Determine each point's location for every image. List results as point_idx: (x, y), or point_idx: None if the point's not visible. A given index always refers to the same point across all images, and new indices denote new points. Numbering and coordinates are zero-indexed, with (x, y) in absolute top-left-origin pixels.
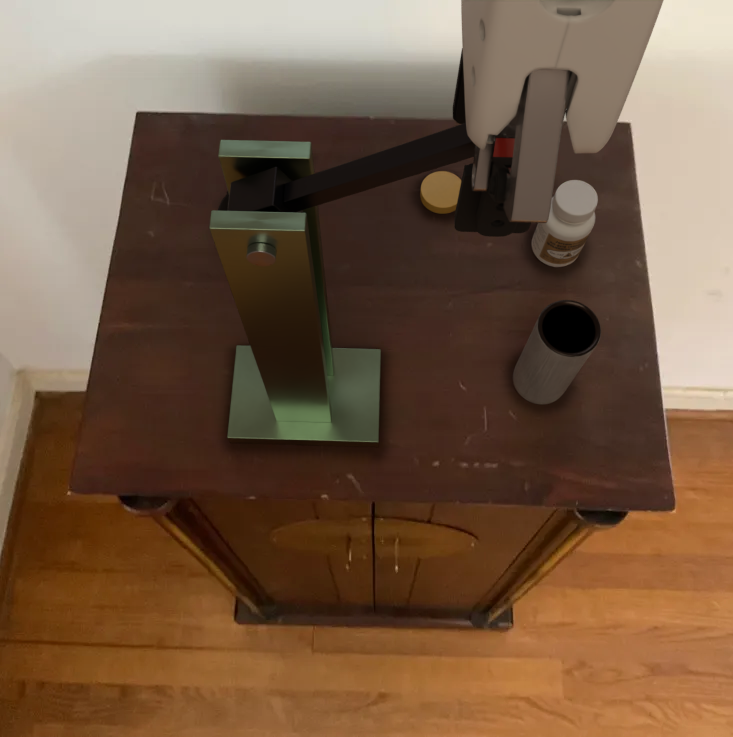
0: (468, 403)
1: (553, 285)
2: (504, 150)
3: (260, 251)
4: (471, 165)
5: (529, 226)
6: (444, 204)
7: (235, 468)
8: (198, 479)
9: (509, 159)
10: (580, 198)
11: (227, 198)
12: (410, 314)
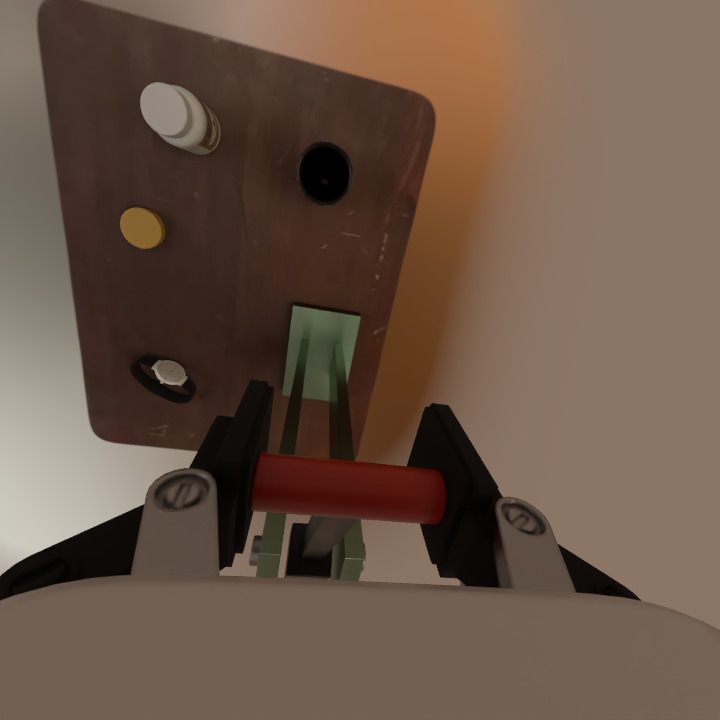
0: (337, 244)
1: (239, 143)
2: (412, 514)
3: (363, 567)
4: (442, 569)
5: (451, 410)
6: (157, 230)
7: (358, 395)
8: (361, 413)
9: (489, 573)
10: (165, 105)
11: (163, 395)
12: (261, 274)
